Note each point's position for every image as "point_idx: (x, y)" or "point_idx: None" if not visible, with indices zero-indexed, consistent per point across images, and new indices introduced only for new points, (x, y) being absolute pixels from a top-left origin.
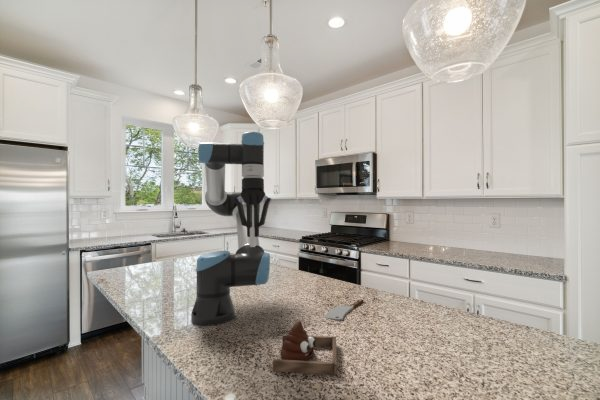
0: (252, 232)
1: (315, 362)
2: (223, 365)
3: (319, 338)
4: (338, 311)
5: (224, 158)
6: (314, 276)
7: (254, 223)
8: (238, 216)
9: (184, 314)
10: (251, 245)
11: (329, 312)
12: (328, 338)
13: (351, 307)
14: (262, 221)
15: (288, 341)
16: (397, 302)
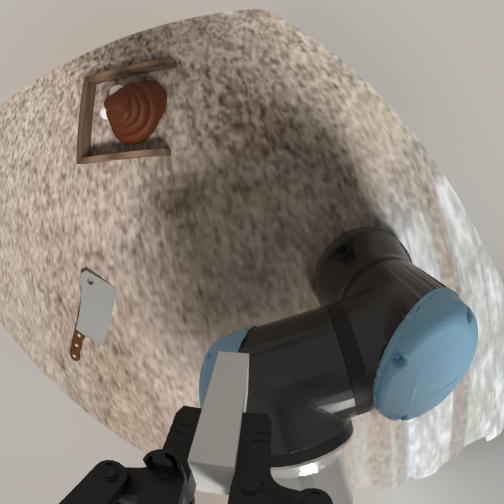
0: (213, 429)
1: (108, 72)
2: (266, 65)
3: (100, 155)
4: (94, 311)
5: None
6: None
7: (175, 496)
8: None
9: None
10: (237, 359)
11: (109, 311)
12: (87, 157)
13: (78, 325)
14: (87, 485)
15: (140, 88)
16: (35, 344)
